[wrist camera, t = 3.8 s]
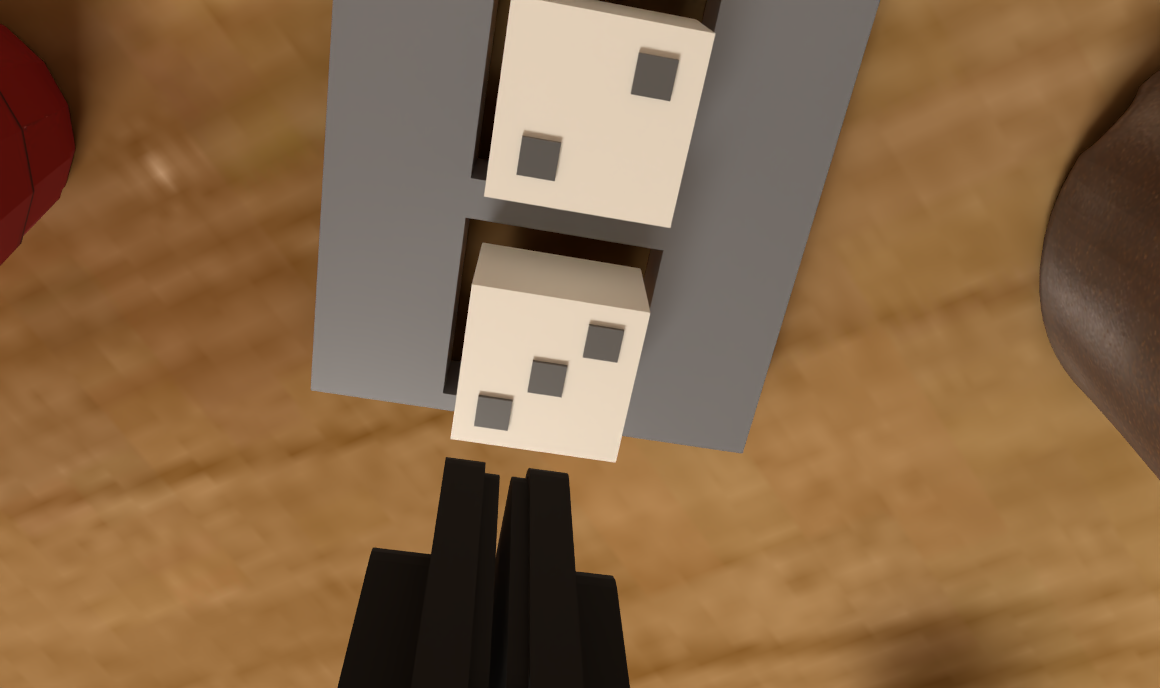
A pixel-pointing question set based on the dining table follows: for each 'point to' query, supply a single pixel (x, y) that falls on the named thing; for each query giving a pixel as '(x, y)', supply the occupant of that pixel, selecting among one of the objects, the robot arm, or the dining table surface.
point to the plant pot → (1111, 274)
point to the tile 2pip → (596, 108)
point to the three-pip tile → (550, 353)
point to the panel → (678, 254)
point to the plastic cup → (29, 141)
